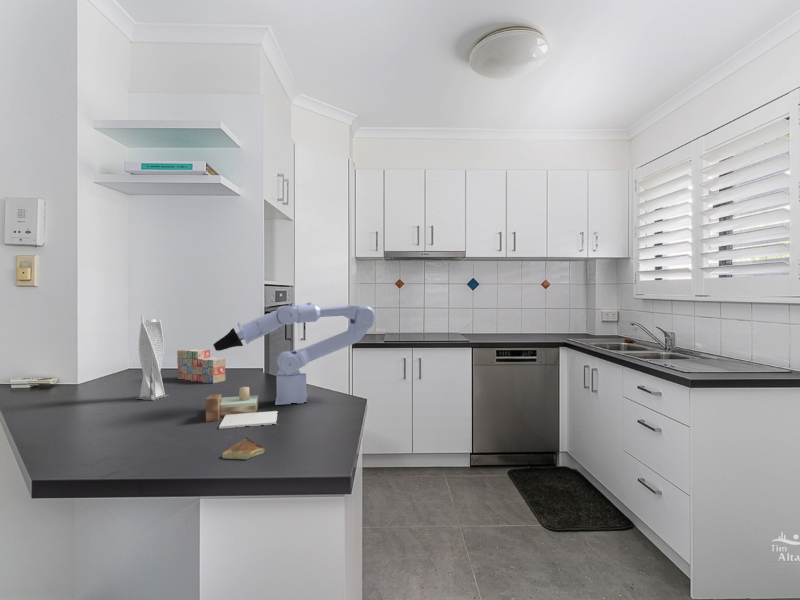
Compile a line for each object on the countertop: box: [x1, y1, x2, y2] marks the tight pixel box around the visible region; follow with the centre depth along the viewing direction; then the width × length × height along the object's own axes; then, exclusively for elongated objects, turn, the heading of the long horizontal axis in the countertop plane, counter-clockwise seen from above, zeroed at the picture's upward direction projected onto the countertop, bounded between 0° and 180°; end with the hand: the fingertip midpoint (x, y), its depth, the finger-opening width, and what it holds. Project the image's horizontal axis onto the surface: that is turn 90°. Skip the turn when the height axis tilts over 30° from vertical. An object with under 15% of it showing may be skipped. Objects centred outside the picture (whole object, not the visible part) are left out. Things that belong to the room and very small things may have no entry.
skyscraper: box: [135, 314, 170, 401], centre depth 152 cm, size 8×8×28 cm
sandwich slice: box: [221, 436, 265, 460], centre depth 98 cm, size 11×8×2 cm
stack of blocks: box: [176, 348, 226, 384], centre depth 184 cm, size 21×6×12 cm, turn 62°
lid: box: [220, 386, 259, 408], centre depth 132 cm, size 13×10×4 cm
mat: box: [218, 410, 278, 430], centre depth 122 cm, size 14×12×1 cm
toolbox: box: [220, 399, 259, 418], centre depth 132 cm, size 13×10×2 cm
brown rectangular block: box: [205, 393, 222, 423], centre depth 125 cm, size 3×7×6 cm, turn 14°
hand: (215, 347), depth 136 cm, fingers open, 7 cm apart
